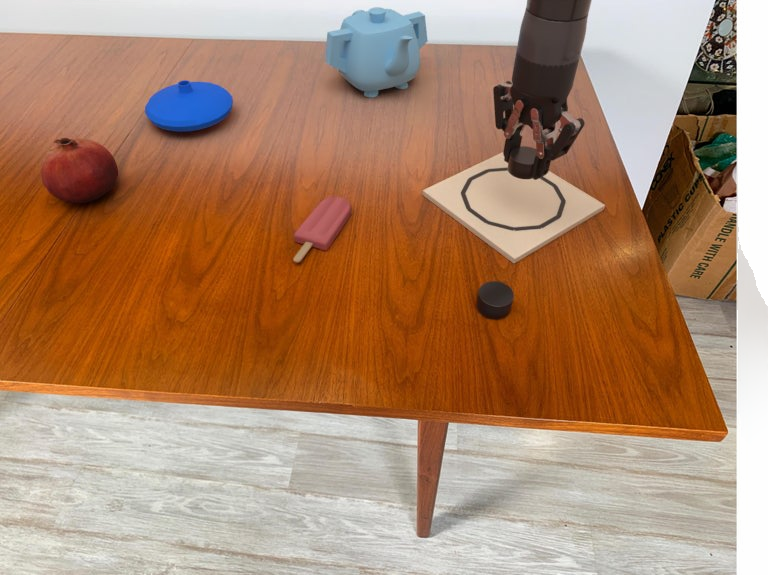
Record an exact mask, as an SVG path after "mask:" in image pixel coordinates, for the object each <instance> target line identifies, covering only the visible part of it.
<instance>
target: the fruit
mask: <svg viewBox="0 0 768 575" xmlns="http://www.w3.org/2000/svg"><path fill="white" fill-rule="evenodd" d="M53 143H54V145H52V146H51V147H50V149H49V150H48V151H47V153H46V154H45V155H44V156H43V157H42V158H43V159H42V161H41V165H40V176H41V183H42V185H43V186H44V188H45V189H46V190H47V191H48V193H49V194H50V195H51V196H53V197H54V198H56V199H58V200H60V201H61V200H62V201H65V202H67V203H70V204H71V203H72V204H87V203H90V202H92V201H95V200H98V199H99V198H101V197H103V196H104V195H105V194H107V193H108V192H109V191H111V190H113V188H114V187H115V185H116V182H117V180H118V177H119V167H118V164H117V161H116V159H115V158H114V156H113V154H112V153H111V151H109V149H108V148H106V147H105V146H103V144H101V143H99V142H97V141H95V140H92V139H88V138H74V139H73V138H69V137H61V138H60V139H59V138H58V139H55V140H53Z"/></svg>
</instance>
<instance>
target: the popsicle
mask: <svg viewBox="0 0 768 575" xmlns="http://www.w3.org/2000/svg"><path fill="white" fill-rule="evenodd" d="M351 214H352V205H351V203H350V202H349V200H348V199H347V198H345V197H342V196H330V197H326V198H324V199H323V200H321V201H320V202H319V203H318V204H317V206H316V207H315V208H314V209H313V210H312V211H311V213H310V214H309V215H308V216H307V217H306V218H305V220H304V221H303V222H302V223H301V225H300V226H299V227H298V228H297V229H296V230H295V232H294V234H293V240H294V242H295V243H298V244H301V245H302V246H301V247H300V249H299V250H298V251H297V252H296V254H295V255H294V257H293V258H292V260H293V262H294V263H297V264H298V263H302V261H303V259H305V256H307V254H308V253H309V251H310V250H311V249H312V248H314V249H318V250H321V251H324V252H325V251H328V249H329V248H330V247H331V245H332V244H333V243H334V241H335V239H336V238H337V237H338V235H340V234H339V233H340V232H341V230H342V229H343V227H344V226H345V224H346V223H347V221H348V220H349V218H350V217H351Z"/></svg>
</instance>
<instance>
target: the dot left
mask: <svg viewBox="0 0 768 575" xmlns="http://www.w3.org/2000/svg"><path fill="white" fill-rule="evenodd" d="M536 155H537V150H536V147H532V146H528V145H527V146H525V145H523V146H522V145H521V146H520V147H516V148H514V149H512V150H511V152H510V156H509V162H508V167H507V169H508V172H509V173H510V174H511V175H512V176H514V177H516V178H519V179H533V178H531V173H532V168H533V164H534V159H535V156H536Z"/></svg>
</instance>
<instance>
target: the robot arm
mask: <svg viewBox="0 0 768 575" xmlns="http://www.w3.org/2000/svg"><path fill="white" fill-rule="evenodd" d="M591 5H592V0H526V6H525V10H524V13H523V17H522V20H521V23H520V28H519V34H518V40H517V46H516V51H515V57H514V63H513V69H512V75H511V81H510V80H507V81H504V82H502V83H499V84H497V85H495V86H494V87H493V89H492V91H493V93H492V94H493V108H494V123H495V128H496V129H497V130H498V131H499V130H502V132H503V136H504V138H505V139H504V140H505V141H504V144H503V146H504V147H503V151H502V152H503V154H504V161H505V162H507V163H508V162H509V156H510V152H511V150H512V149H514V148H516V147H520V146H522V140H523V135H521V134H522V133H523V132H524V129H525V128H526V126H528V127H530V129H531V130H532V139H533V141H534V142H535V149H536V150H537V155H536V156H535V159H534V164H533V168H532V173H531V178H533V179H534V180H537V179H539V178H541V177H543V176H545V175H546V174H547V173H548V171H550V166H551V163H552V161H555V160H557V159H560V158H562V157H563V156H565V155H567V154H568V153H569V150H570V149H571V147H572V146H573V144H574V143H575V141H576V140H577V138H578V137H579V135H580V133H581V131H582V130H583V128H584V127H585V120H584V119H583V118H582V117H578V118H575V117H573V115H571V114H570V113H569V112H568V111H569V106H568V97H569V95H570V94H571V92H572V89H573V86H574V82H575V79H576V75H577V70H578V67H579V62H580V58H581V54H582V50H583V46H584V42H585V40H586V34H587V27H588V25H587V24H588V18H589V13H590V9H591ZM559 122H560V125H559Z"/></svg>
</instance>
